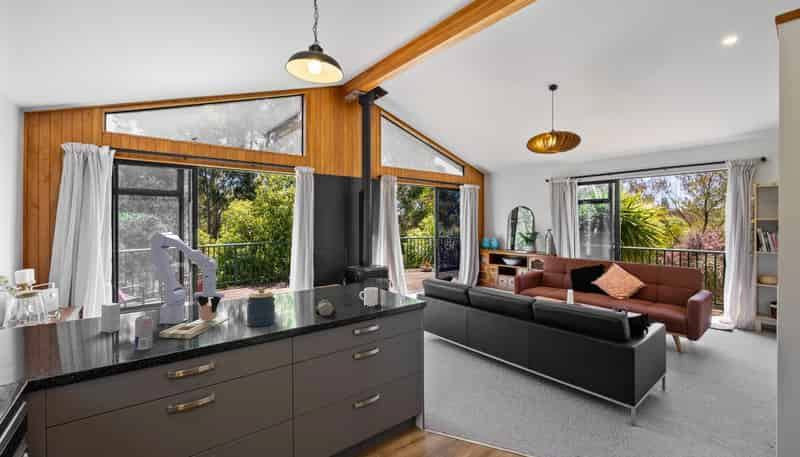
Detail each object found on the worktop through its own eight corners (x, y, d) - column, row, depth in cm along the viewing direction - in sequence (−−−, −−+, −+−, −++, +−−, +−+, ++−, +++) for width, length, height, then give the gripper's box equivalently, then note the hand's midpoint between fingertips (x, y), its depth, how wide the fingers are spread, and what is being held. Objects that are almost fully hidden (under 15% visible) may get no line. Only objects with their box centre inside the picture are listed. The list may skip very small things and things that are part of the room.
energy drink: (141, 345, 134) (141, 315, 134) (155, 345, 135) (155, 315, 135) (131, 351, 129) (131, 319, 129) (146, 350, 130) (146, 319, 129)
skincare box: (120, 330, 153) (120, 303, 152) (110, 333, 148) (109, 305, 148) (111, 328, 155) (111, 302, 154) (100, 331, 150) (100, 304, 150)
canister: (241, 323, 165) (242, 287, 165) (267, 318, 175) (267, 284, 174) (253, 329, 156) (253, 291, 156) (280, 323, 166) (280, 287, 165)
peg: (201, 320, 164) (201, 306, 164) (207, 317, 168) (207, 303, 168) (210, 320, 164) (210, 306, 164) (215, 318, 168) (216, 304, 168)
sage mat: (187, 325, 161) (187, 324, 161) (205, 317, 174) (205, 316, 174) (213, 326, 160) (213, 325, 160) (229, 318, 173) (229, 317, 172)
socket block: (159, 337, 144) (159, 332, 144) (182, 327, 158) (182, 322, 158) (189, 338, 143) (189, 333, 143) (210, 328, 157) (210, 324, 157)
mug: (356, 305, 204) (356, 288, 204) (373, 302, 211) (373, 286, 211) (362, 307, 198) (362, 291, 197) (380, 305, 205) (380, 289, 204)
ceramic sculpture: (316, 300, 176) (313, 296, 191) (316, 317, 176) (313, 312, 190) (336, 299, 180) (332, 295, 194) (336, 316, 180) (332, 310, 194)
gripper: (189, 285, 163) (189, 313, 163) (218, 286, 162) (218, 314, 162) (199, 282, 170) (199, 309, 170) (227, 283, 169) (226, 310, 169)
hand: (209, 311), depth 166 cm, fingers closed on peg, 4 cm apart
